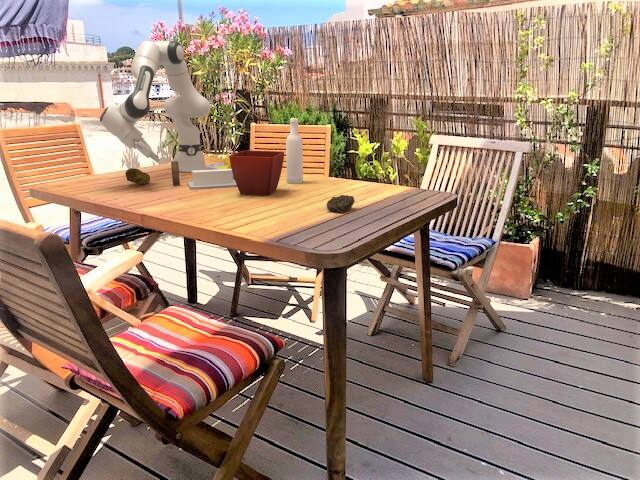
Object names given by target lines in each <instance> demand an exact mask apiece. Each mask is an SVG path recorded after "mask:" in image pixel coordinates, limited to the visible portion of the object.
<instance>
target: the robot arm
mask: <svg viewBox="0 0 640 480" xmlns="http://www.w3.org/2000/svg"><path fill="white" fill-rule="evenodd" d="M159 66H163V67H164V72H165V74H166V75H165V76H166V78H167V82H168V85H169V88H170V89H171V90H172V91H173V92H174V93H176V94H178V95H179V96H178V95H176V96H171V97H168V98H166V99H165V101H164V104H163V109H164V112H165V114H167V116H168V117H169V118H170V119H172V121H173V123H174V125H175V126H176V130H177V135H178V154H176V156H175V158H174V161H178V164H179V172H183V173H184V172H185V173H188V172H189V173H192V171H196V170H209V168H208V167H207V165H206V158H205V157H206V156H205V154H204V153H203V151H202V144H201V136H200V129H199V128H198V126H197V125H194V124H193V123H192V121H191V119H200V118H205V117H208V116H209V115H210V112H211V110H212V109H211V104H210V101H209V100H208V99H207V97H204V96H203V95H202V94H201V93H199V91H198V90H197V89H196V88H195V86H194V84H193V82H192V79H191V76H190V73H189V70H188V66H187V63H186V60H185V50H184V47H183V45H182V44H181V43H180V42H179V41H175V40H171V41H170V40H158V41H157V40H155V41H152V40H144V41H142V42H141V43H140V45H139V46H138V48H137V50H136V51H135V54H134V57H133V60H132V62H131V67H130V70H131V71H130V72H131V74H132V75H131V76H132V77H134V78H135V79H136V83H135V85H134V89H133V92H132V93H130V94H129V96H127V98H126V99H125V100H124V101H123V102H122V103H120V104H118V105H114V106H107V107H106V108H105V109H104V110H103V112H101V115H100V117H99V122H100V124H101V125H102V126H103V127H104V129H106V130H107V131H108V132H109V133H110V134H111V135H113V136H115V137H116V138H117V139H118V140H119V141H120V142H121V143H122V144H123V145H125V146H126V147H127V148H128V149H132V148H133V149H134V150H138V151H139V152H140V153H141V154H142V155H143V156H145V158H147V159H149V158H150V159H152V160H153V161H154V162H155V163H159V162H160V160H161V159H160V158H159V156H158V155H157V154H156V153H155V152H154V151H153V149H152V147H151V145H150V144H149V143H148V142H147V141H146V140H145V138H144V137H143V135H144V134H143V132H141V131H140V129H138V128H137V127H136V126H134V124H137V122H139V121H140V120H141V119H143V117H145V116H147V115H148V114H149V112H150V109H151V105H150V94H151V89H152V84H153V81H154V79H155V77H156V74H157V71H158V68H159Z"/></svg>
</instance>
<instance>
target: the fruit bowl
mask: <svg viewBox="0 0 640 480" xmlns="http://www.w3.org/2000/svg"><path fill="white" fill-rule="evenodd" d="M232 154H233V153H230V154H229V155H228V156H226V158H225V159H224V161H222V162H215V163H214V162H213V163H210V164H207V165H206V167H208V168H209V169H208V170H216V169H232V168H231V164H230V160H229V156H230V155H232ZM233 179H234V176H233Z"/></svg>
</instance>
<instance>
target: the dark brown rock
mask: <svg viewBox="0 0 640 480" xmlns="http://www.w3.org/2000/svg"><path fill="white" fill-rule="evenodd" d="M355 202H356V201H355V198H354V196H353V195H346V194H345V195H344V194H341V195H339V196H332V197H331V198H330V199H329V200H328V201H327V203H326V209H327V210H328V212H331V213H335V214H340V213H344V212H346V211H349V210H351V209H352V206H353V205H354V203H355Z"/></svg>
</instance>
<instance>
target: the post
mask: <svg viewBox="0 0 640 480" xmlns="http://www.w3.org/2000/svg"><path fill="white" fill-rule="evenodd" d="M170 167H171V176H172V177H171V178H172V187H180V186H181V181H180V180H181V178H180V171H179V164H178V161H175V160H174V161H173V160H172V161H171V162H170Z"/></svg>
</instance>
